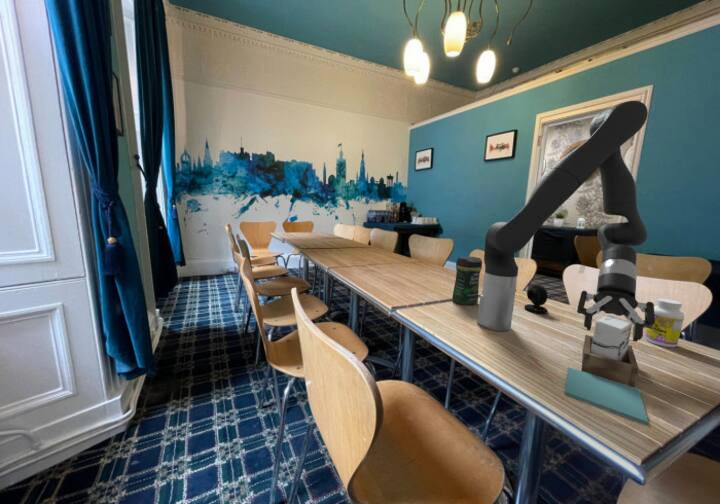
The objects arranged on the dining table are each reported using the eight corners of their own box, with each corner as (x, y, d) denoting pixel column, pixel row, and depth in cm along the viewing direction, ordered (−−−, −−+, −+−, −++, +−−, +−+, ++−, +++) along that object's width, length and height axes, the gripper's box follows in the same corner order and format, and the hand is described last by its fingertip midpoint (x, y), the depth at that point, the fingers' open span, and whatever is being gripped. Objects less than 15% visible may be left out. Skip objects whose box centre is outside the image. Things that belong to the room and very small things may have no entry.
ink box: (613, 377, 63) (622, 329, 61) (586, 366, 67) (594, 320, 65) (624, 366, 68) (634, 321, 66) (599, 357, 72) (607, 314, 70)
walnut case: (581, 370, 65) (584, 353, 65) (582, 350, 75) (585, 334, 75) (634, 387, 60) (638, 368, 59) (628, 362, 70) (631, 346, 69)
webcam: (519, 306, 108) (522, 282, 107) (537, 306, 109) (540, 282, 107) (533, 314, 101) (537, 288, 99) (552, 314, 101) (556, 288, 100)
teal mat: (564, 394, 57) (564, 391, 57) (568, 369, 66) (568, 367, 66) (647, 424, 49) (648, 421, 49) (638, 391, 58) (639, 389, 58)
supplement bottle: (637, 337, 85) (646, 297, 83) (657, 337, 85) (666, 297, 83) (663, 348, 78) (673, 305, 76) (684, 348, 79) (694, 305, 77)
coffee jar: (463, 306, 106) (468, 259, 103) (448, 300, 113) (452, 255, 110) (481, 304, 110) (486, 258, 107) (466, 297, 117) (471, 254, 114)
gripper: (584, 267, 76) (575, 319, 69) (658, 277, 67) (657, 337, 61) (581, 282, 81) (573, 332, 74) (650, 293, 72) (649, 350, 65)
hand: (611, 334), depth 67 cm, fingers open, 8 cm apart
